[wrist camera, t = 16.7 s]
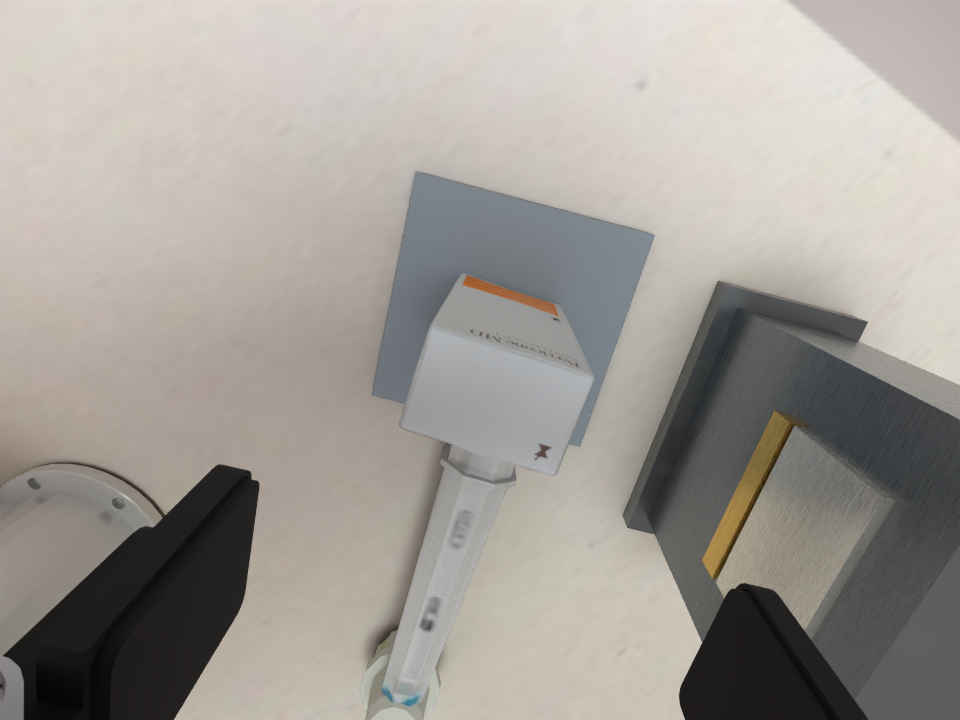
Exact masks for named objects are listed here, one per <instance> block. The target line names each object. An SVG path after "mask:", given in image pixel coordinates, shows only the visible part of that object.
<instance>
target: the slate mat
mask: <svg viewBox="0 0 960 720" xmlns="http://www.w3.org/2000/svg"><path fill="white" fill-rule="evenodd" d="M654 237H655V235H653V234H650V233H646V232H642V231H639V230H635V229H631V228H627V227H624V226H620V225H616V224H612V223H609V222H605V221H601V220H597V219H593V218H590V217H586V216H582V215H578V214H575V213H571V212H567V211H563V210H560V209H556V208H552V207H548V206H545V205H541V204H537V203H533V202H530V201H526V200H522V199H518V198H514V197H511V196H507V195H503V194H499V193H496V192H492V191H488V190H484V189H481V188H477V187H473V186H469V185H466V184H462V183H458V182H454V181H450V180H447V179H443V178H439V177H435V176H432V175H428V174H424V173H420V172H416V173H415V178H414V183H413V188H412V193H411V198H410V204H409V209H408V214H407V219H406V224H405V229H404V234H403V239H402V244H401V249H400V254H399V259H398V264H397V270H396V275H395V280H394V285H393V290H392V295H391V300H390V305H389V310H388V315H387V320H386V325H385V330H384V335H383V341H382V346H381V351H380V356H379V361H378V366H377V371H376V376H375V381H374V386H373V391H372V395H373V396H377V397H381V398H385V399H389V400H393V401H397V402H401V403H405V402H406V399H407V395H408V392H409V389H410V386H411V383H412V380H413V377H414V374H415V370H416V367H417V364H418V361H419V358H420V355H421V352H422V349H423V346H424V343H425V339H426V336H427V333H428V330H429V328H430V325H431V323H432V322H433V320H434V318H435V317H436V315H437V313H438V312H439V310H440V308H441V307H442V305H443V303H444V302H445V300H446V298H447V297H448V295H449V293H450V291H451V290H452V288H453V286H454V285H455V283H456V281H457V279H458V278H459V276H460V274H461V273H465V274H468V275H471V276H474V277H477V278H480V279H483V280H485V281H488V282H491V283H494V284H497V285H500V286H502V287H505V288H508V289H511V290H514V291H517V292H520V293H524V294H527V295H530V296H533V297H536V298H539V299H542V300H546V301H549V302H553V303H556V304H559V305H561V307H562V309H563V311H564V313H565V316H566V318H567V320H568V322H569V324H570V326H571V328H572V330H573V332H574V335H575V337H576V339H577V341H578V343H579V345H580V347H581V349H582V352H583V354H584V356H585V358H586V360H587V362H588V365H589V367H590V369H591V371H592V373H593V375H594V378H595V379H594V382H593V385H592V387H591V390H590V392H589V394H588V397H587V399H586V402H585V404H584V407H583V409H582V412H581V414H580V417H579V419H578V422H577V424H576V427H575V429H574V432H573V434H572V437H571V439H570V442H569V444H571V445H575V446H579V447H580V445H581V442H582V439H583V436H584V434H585V431H586V428H587V425H588V422H589V420H590V417H591V414H592V411H593V408H594V405H595V403H596V400H597V397H598V394H599V391H600V389H601V386H602V383H603V380H604V377H605V374H606V372H607V369H608V366H609V363H610V360H611V358H612V355H613V352H614V349H615V346H616V344H617V341H618V338H619V335H620V332H621V329H622V327H623V324H624V321H625V318H626V315H627V313H628V310H629V307H630V304H631V301H632V298H633V296H634V293H635V290H636V287H637V284H638V282H639V279H640V276H641V273H642V270H643V268H644V265H645V262H646V259H647V256H648V253H649V251H650V248H651V245H652V242H653V239H654Z"/></svg>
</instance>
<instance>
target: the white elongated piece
mask: <svg viewBox="0 0 960 720" xmlns="http://www.w3.org/2000/svg"><path fill="white" fill-rule="evenodd" d="M440 464H441V465H442V466H443V467H444V469H443V473H442V476H441V480H440V483H439V487H438V490H437V494H436V497H435V501H434V504H433V508H432V511H431V515H430V518H429V522H428V525H427V529H426V532H425V536H424V539H423V543H422V546H421V550H420V553H419V557H418V560H417V564H416V567H415V571H414V574H413V578H412V581H411V585H410V588H409V592H408V595H407V599H406V602H405V606H404V609H403V613H402V616H401V620H400V623H399V627H398V630H396V631H392V632H391V634H390V636H389V637H388V638H387V639H386V640H385V641H384V642H382V643H381V644H378V647H377V650H376V653H375V656H374V658H373V659H372V660H371V661H370V662H369V663H368V665H367V668H366V671H365V675H364V678H363V681H362V685H361V688H360V693H361V697H362V702H363V706H364V710H365V711H366V712H367V713H366V719H365V720H423V718H424V717H425V716H426V715H428V714H429V713H430V712H431V711H432V710H433V708H434V705H435V703H436V700H437V697H438V694H439V691H440V683H441V682H440V677H439V672H438V667H437V663H438V660H439V657H440V655H441V652H442V650H443V647H444V645H445V642H446V640H447V637H448V635H449V632H450V630H451V627H452V624H453V622H454V619H455V617H456V614H457V612H458V609H459V607H460V604H461V602H462V599H463V597H464V594H465V592H466V589H467V587H468V584H469V582H470V579H471V577H472V574H473V572H474V569H475V567H476V564H477V562H478V559H479V557H480V554H481V552H482V549H483V547H484V544H485V542H486V539H487V536H488V534H489V531H490V529H491V526H492V524H493V521H494V519H495V516H496V514H497V511H498V509H499V506H500V504H501V501H502V499H503V496H504V494H505V491H506V489H507V487H511V486H515V483H516V474H515V465H514V464H511V463H507V462H504V461H501V460H497V459H493V458H487V457H483V456H479V455H476V454H474V453H471V452H468V451H465V450H463V449H461V448H459V447H456V446H454V445H450V446H444V449H443V452H442V457H441V462H440Z"/></svg>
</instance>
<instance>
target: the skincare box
mask: <svg viewBox="0 0 960 720" xmlns="http://www.w3.org/2000/svg"><path fill="white" fill-rule="evenodd" d="M594 379H595V378H594V375H593V373H592V371H591V369H590V367H589V365H588V362H587V360H586V358H585V356H584V354H583V352H582V349H581V347H580V345H579V343H578V341H577V339H576V337H575V335H574V332H573V330H572V328H571V326H570V324H569V322H568V320H567V318H566V316H565V313H564V311H563V309H562V307H561V305H559V304H556V303H553V302H549V301H546V300H542V299H539V298H536V297H533V296H530V295H527V294H524V293H520V292H517V291H514V290H511V289H508V288H505V287H502V286H500V285H497V284H494V283H491V282H488V281H485V280H483V279H480V278H477V277H474V276H471V275H468V274H465V273H461V274H460V276H459V278H458V279H457V281H456V283H455V285H454V286H453V288H452V290H451V291H450V293H449V295H448V297H447V298H446V300H445V302H444V303H443V305H442V307H441V308H440V310H439V312H438V313H437V315H436V317H435V318H434V320H433V322H432V323H431V325H430V328H429V330H428V333H427V336H426V339H425V343H424V346H423V349H422V352H421V355H420V358H419V361H418V364H417V367H416V370H415V374H414V377H413V380H412V383H411V386H410V389H409V392H408V395H407V399H406V402H405V405H404V409H403V412H402V415H401V419H400V422H399V425H400V427H401V428H402V429H404V430H407V431H410V432H413V433H416V434H420V435H423V436H426V437H429V438H432V439H435V440H438V441H442V442H445V443H448V444H451V445H454V446H456V447H459V448H461V449H463V450H465V451H468V452H471V453H474V454H476V455H479V456H483V457H487V458H493V459H497V460H501V461H504V462H507V463H511V464H514V465H518V466H521V467H524V468H527V469H530V470H534V471H537V472H540V473H544V474H547V475H550V476H555V475H556V474H557V472H558V470H559V467H560V465H561V462H562V459H563V457H564V454H565V452H566V449H567V447H568V444H569V442H570V439H571V437H572V434H573V432H574V429H575V427H576V424H577V422H578V419H579V417H580V414H581V412H582V409H583V407H584V404H585V402H586V399H587V397H588V394H589V392H590V390H591V387H592V385H593V382H594Z"/></svg>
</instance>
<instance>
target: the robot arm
mask: <svg viewBox="0 0 960 720" xmlns="http://www.w3.org/2000/svg"><path fill="white" fill-rule="evenodd" d="M258 493H259V482H258V481H255V480H251V472H250V471H248V470H243V469H239V468H234V467H230V466H226V465H221V464H220V465H217V466H215V467H214V468H213V469H212V470H211V471H210V472H209V473H208V474H207V475H206V476H205V477H204V478H203V479H202V480H201V481H200V482H199V483H198V484H197V485H196V486H195V487H194V488H193V489H192V490H191V491H190V492H189V493H188V494H187V495H186V496H185V497H184V498H183V499H182V500H181V501H180V502H179V503H178V504H177V505H176V506H175V507H174V508H173V509H171V510H170V511H169V512H168V513H167V514H166V515H165V516H164V517H162V516H161V515H160V513H159V512H158V511H157V510H156V508H155V507H154V506H153V505H152V503H150V502H149V501H148V500H147V499H146V498H145V497H144V496H143V495H142V494H141V493H140V492H138V491H137V490H136V489H134V488H133V487H131V486H130V485H128V484H127V483H125V482H124V481H122V480H120V479H118V478H116V477H114V476H112V475H110V474H108V473H106V472H103V471H100V470H97V469H93V468H90V467H87V466H81V465H74V464H49V465H44V466H39V467H35V468H33V469H31V470H28V471H26V472H24V473H22V474H20V475H19V476H17V477H15V478H14V479H12V480H11V481H9V482H7V483H6V484H4V485H3V486H2V487H1V489H0V720H174V718H175V717H176V715H177V713H178V712H179V710H180V708H181V707H182V705H183V704H184V702H185V700H186V699H187V697H188V695H189V694H190V692H191V690H192V689H193V687H194V685H195V684H196V682H197V680H198V679H199V677H200V675H201V674H202V672H203V670H204V669H205V667H206V665H207V664H208V662H209V660H210V659H211V657H212V655H213V654H214V652H215V650H216V649H217V647H218V646H219V644H220V642H221V641H222V639H223V637H224V636H225V634H226V632H227V631H228V629H229V627H230V626H231V624H232V622H233V621H234V619H235V617H236V616H237V614H238V612H239V610H240V608H241V605H242V602H243V599H244V595H245V590H246V582H247V575H248V567H249V560H250V553H251V545H252V538H253V530H254V523H255V516H256V508H257V501H258ZM679 700H680V706H681V710H682V712H683V715H684V718H685V720H869V719H868V718H867V717H866V715H865V714H864V712H863V711H862V710H861V708H860V707H859V705H858V704H857V703H856V701H855V700H854V699H853V697H852V696H851V694H850V693H849V692H848V690H847V689H846V687H845V686H844V685H843V683H842V682H841V681H840V679H839V678H838V676H837V675H836V674H835V672H834V671H833V670H832V668H831V667H830V665H829V664H828V663H827V661H826V660H825V658H824V657H823V656H822V654H821V653H820V652H819V650H818V649H817V647H816V646H815V645H814V643H813V642H812V640H811V639H810V638H809V636H808V635H807V634H806V632H805V631H804V629H803V628H802V627H801V625H800V624H799V623H798V621H797V620H796V618H795V617H794V616H793V614H792V613H791V611H790V610H789V609H788V607H787V606H786V605H785V603H784V602H783V600H782V599H781V598H780V596H779V595H778V594H777V593H776V592H775V591H774V590H772V589H769V588H764V587H760V586H755V585H751V584H747V583H741V584H739V585H738V586H737V587H736V588H735V589H731V590H729V591H728V593H727V594H726V596H725V598H724V600H723V602H722V604H721V606H720V608H719V610H718V612H717V614H716V616H715V618H714V620H713V622H712V624H711V626H710V628H709V630H708V632H707V634H706V637H705V639H704V641H703V643H702V645H701V647H700V649H699V651H698V653H697V655H696V657H695V659H694V661H693V663H692V665H691V667H690V669H689V671H688V673H687V675H686V677H685V679H684V681H683V683H682V685H681V688H680V693H679Z"/></svg>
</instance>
